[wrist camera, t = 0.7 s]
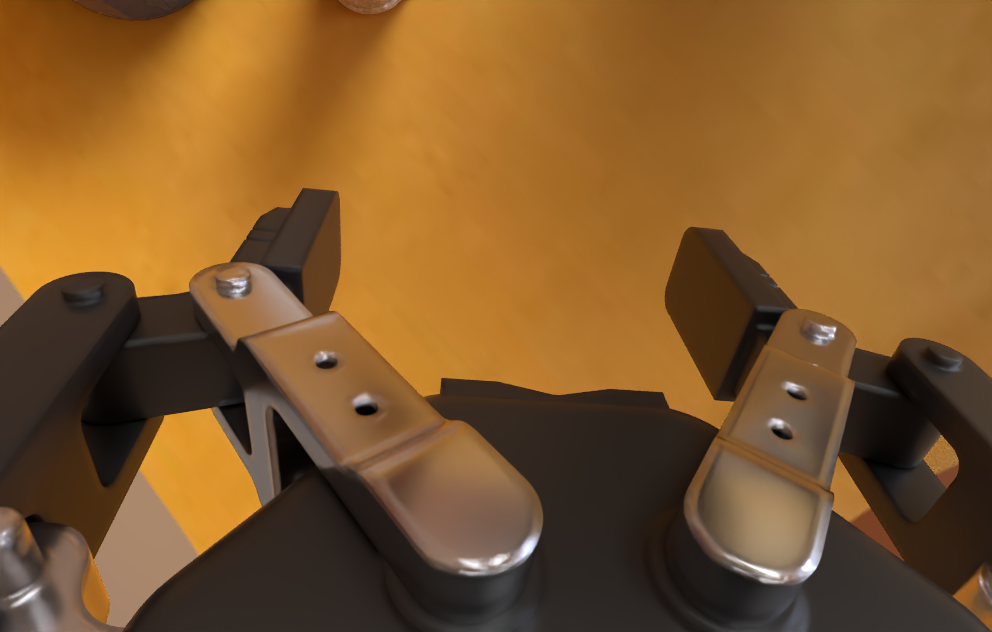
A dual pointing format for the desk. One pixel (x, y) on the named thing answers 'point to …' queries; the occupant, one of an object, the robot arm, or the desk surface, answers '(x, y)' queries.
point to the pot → (134, 8)
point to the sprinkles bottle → (369, 5)
